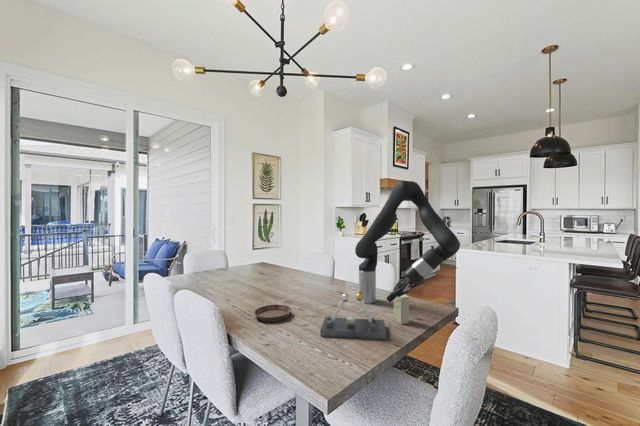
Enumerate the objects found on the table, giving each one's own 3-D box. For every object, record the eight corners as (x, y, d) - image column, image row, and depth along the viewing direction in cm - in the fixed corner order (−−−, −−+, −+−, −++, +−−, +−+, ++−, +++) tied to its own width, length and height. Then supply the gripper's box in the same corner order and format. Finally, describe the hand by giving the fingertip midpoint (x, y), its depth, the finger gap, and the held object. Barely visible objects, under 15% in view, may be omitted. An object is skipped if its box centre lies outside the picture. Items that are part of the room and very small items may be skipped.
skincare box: (393, 319, 136) (392, 293, 136) (401, 318, 137) (400, 292, 137) (401, 324, 130) (401, 297, 130) (409, 323, 132) (409, 296, 131)
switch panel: (325, 322, 133) (325, 312, 133) (384, 325, 129) (383, 315, 129) (320, 336, 119) (320, 325, 119) (386, 340, 115) (386, 328, 115)
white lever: (328, 318, 128) (344, 291, 126) (333, 322, 127) (349, 295, 126) (327, 322, 124) (343, 294, 122) (332, 325, 123) (349, 297, 122)
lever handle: (369, 323, 125) (355, 293, 125) (374, 321, 125) (361, 291, 125) (369, 327, 121) (355, 296, 122) (374, 324, 121) (361, 293, 121)
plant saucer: (252, 312, 147) (252, 306, 147) (286, 308, 153) (286, 302, 153) (257, 326, 131) (257, 319, 131) (295, 320, 137) (295, 314, 137)
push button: (347, 321, 126) (346, 316, 126) (355, 321, 126) (355, 317, 126) (346, 324, 123) (346, 320, 123) (355, 324, 122) (355, 320, 122)
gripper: (409, 261, 126) (380, 289, 128) (414, 268, 113) (382, 298, 115) (422, 274, 125) (393, 301, 128) (429, 282, 112) (396, 312, 115)
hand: (388, 300), depth 121 cm, fingers closed
